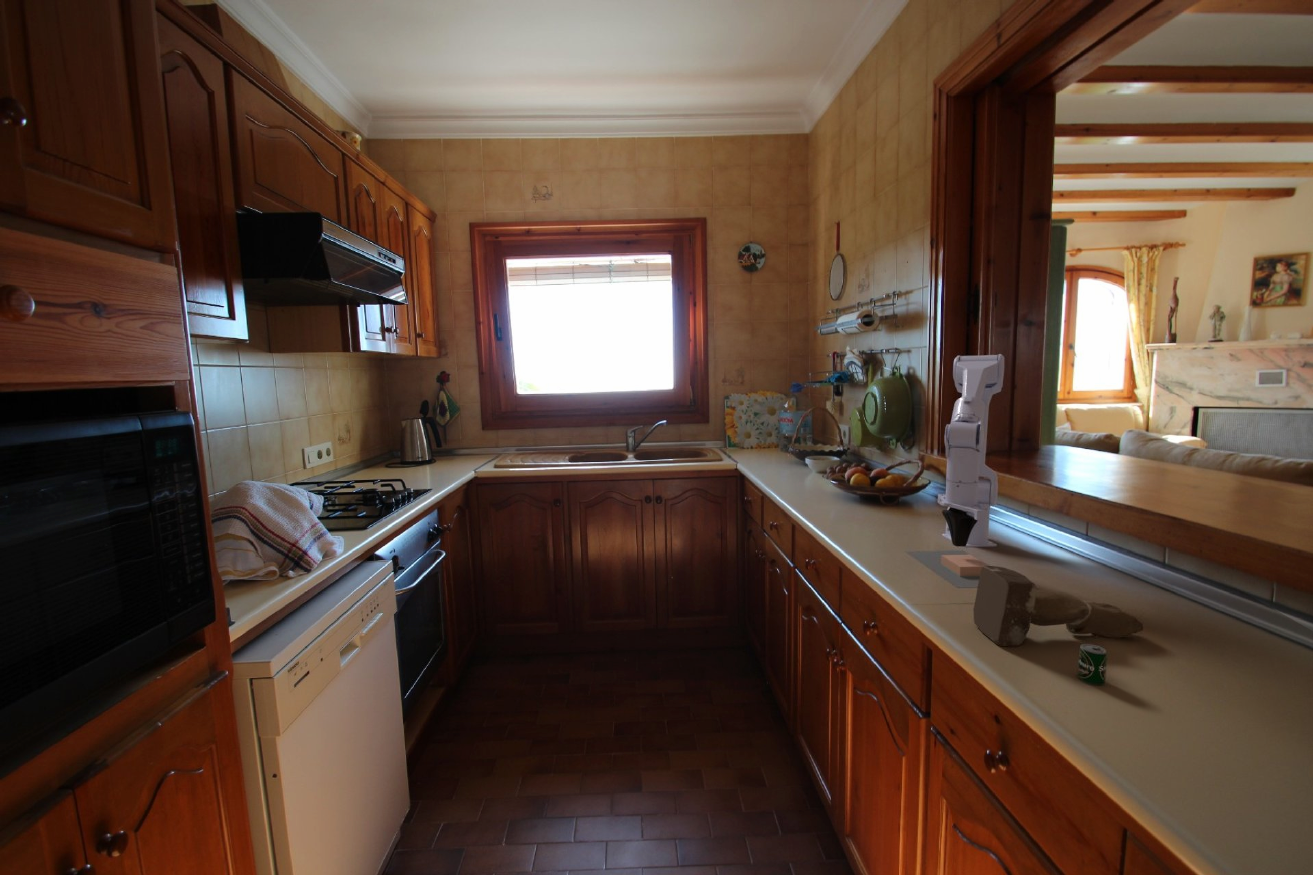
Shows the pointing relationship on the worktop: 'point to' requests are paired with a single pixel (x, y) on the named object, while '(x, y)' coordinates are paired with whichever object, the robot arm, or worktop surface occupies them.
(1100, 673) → the beer can
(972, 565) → the tile
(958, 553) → the mat
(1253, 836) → the worktop surface
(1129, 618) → the sculpture
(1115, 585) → the worktop surface
